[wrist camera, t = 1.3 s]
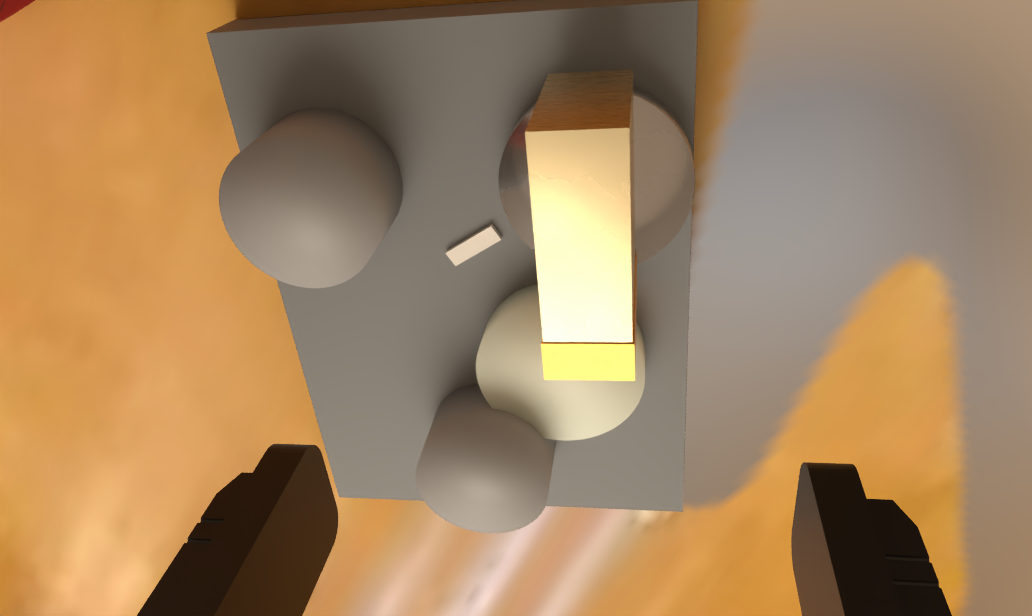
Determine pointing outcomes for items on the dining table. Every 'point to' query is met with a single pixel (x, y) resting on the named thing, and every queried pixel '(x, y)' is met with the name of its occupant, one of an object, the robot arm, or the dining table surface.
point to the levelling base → (449, 250)
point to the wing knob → (594, 211)
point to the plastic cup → (11, 7)
